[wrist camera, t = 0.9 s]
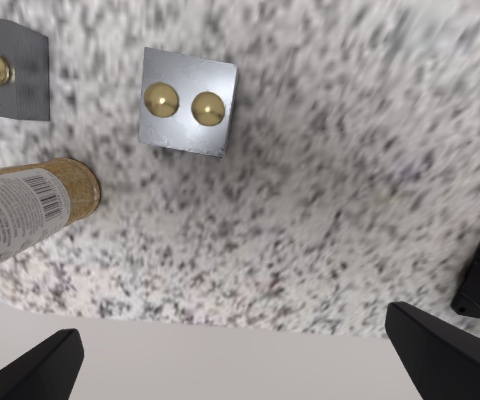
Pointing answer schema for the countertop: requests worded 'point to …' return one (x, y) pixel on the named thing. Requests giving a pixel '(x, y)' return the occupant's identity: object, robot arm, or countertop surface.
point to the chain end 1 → (23, 73)
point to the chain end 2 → (186, 102)
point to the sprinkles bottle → (42, 201)
